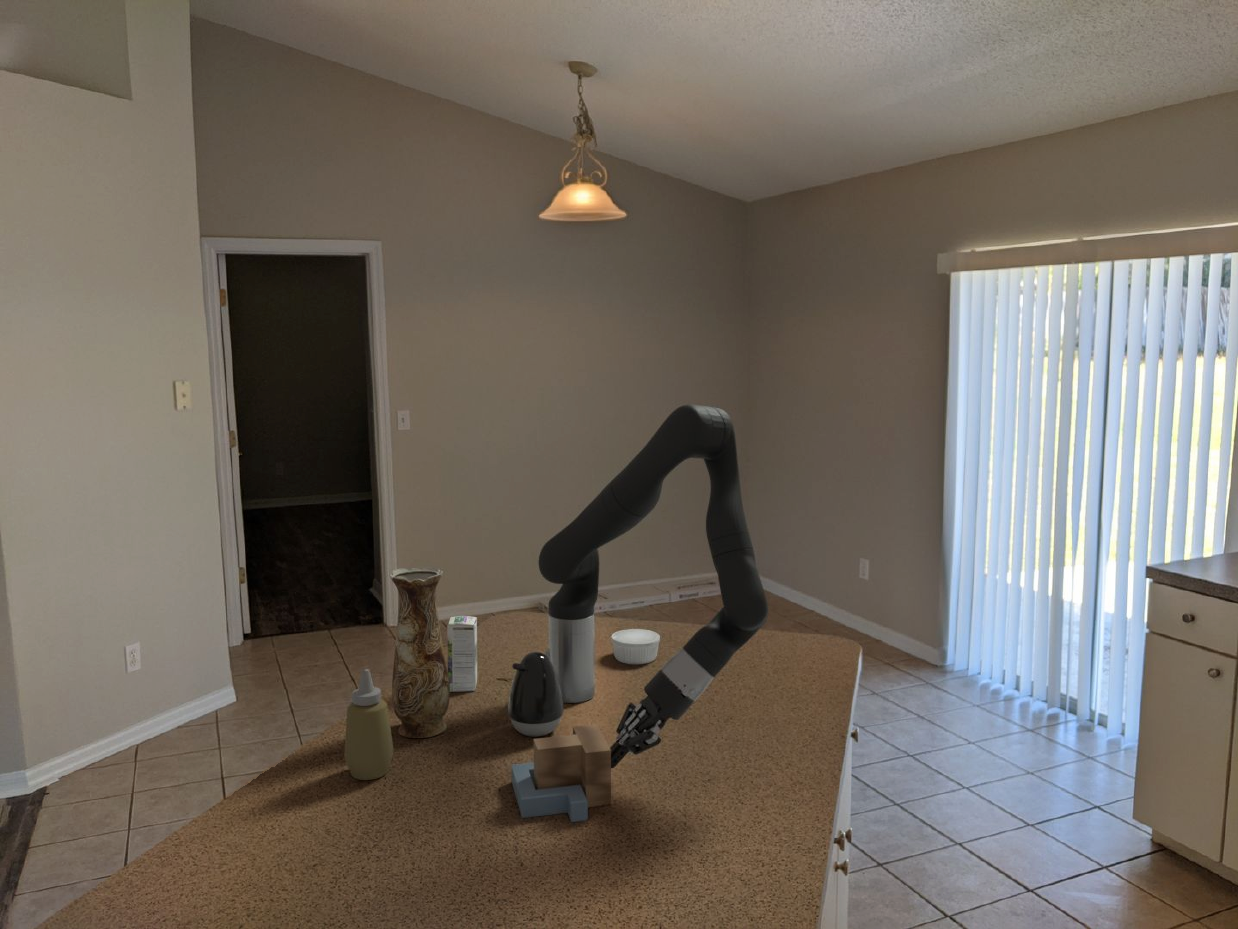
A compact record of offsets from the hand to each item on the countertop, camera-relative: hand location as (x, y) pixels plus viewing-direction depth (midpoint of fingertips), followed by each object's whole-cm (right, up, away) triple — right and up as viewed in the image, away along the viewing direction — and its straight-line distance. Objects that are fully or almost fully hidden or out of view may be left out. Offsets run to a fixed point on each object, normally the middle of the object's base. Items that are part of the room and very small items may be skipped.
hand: (606, 763), depth 150 cm
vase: (-35, -1, +24) cm, 42 cm away
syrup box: (-31, +2, +44) cm, 54 cm away
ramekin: (+6, +4, +62) cm, 62 cm away
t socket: (-10, -5, -2) cm, 11 cm away
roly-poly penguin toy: (-13, -1, +23) cm, 26 cm away
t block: (-6, -4, -1) cm, 7 cm away
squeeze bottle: (-40, -4, +6) cm, 41 cm away
